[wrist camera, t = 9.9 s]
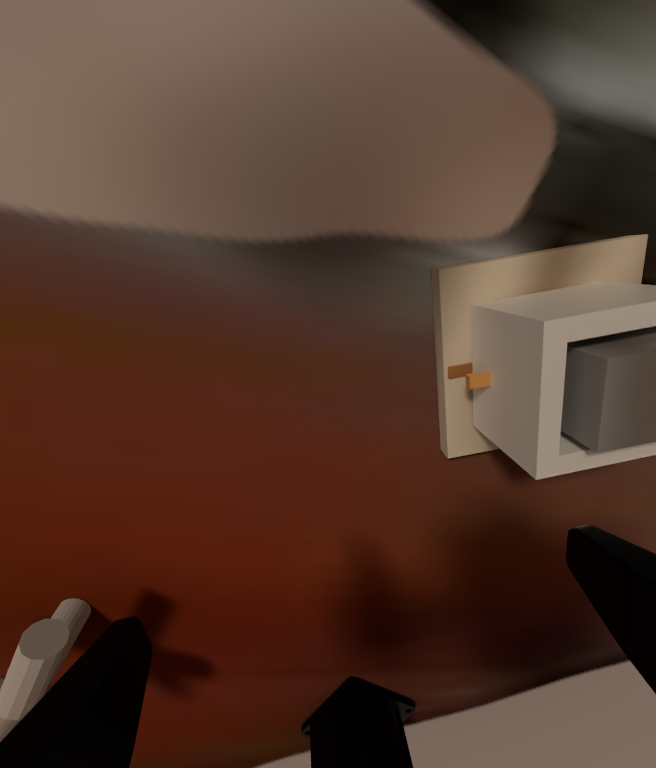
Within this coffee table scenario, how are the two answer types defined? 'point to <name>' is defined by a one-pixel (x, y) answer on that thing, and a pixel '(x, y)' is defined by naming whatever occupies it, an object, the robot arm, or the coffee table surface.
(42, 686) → the pipe connector
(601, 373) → the square peg base
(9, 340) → the coffee table surface
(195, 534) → the coffee table surface
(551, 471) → the square tube segment
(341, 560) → the coffee table surface
